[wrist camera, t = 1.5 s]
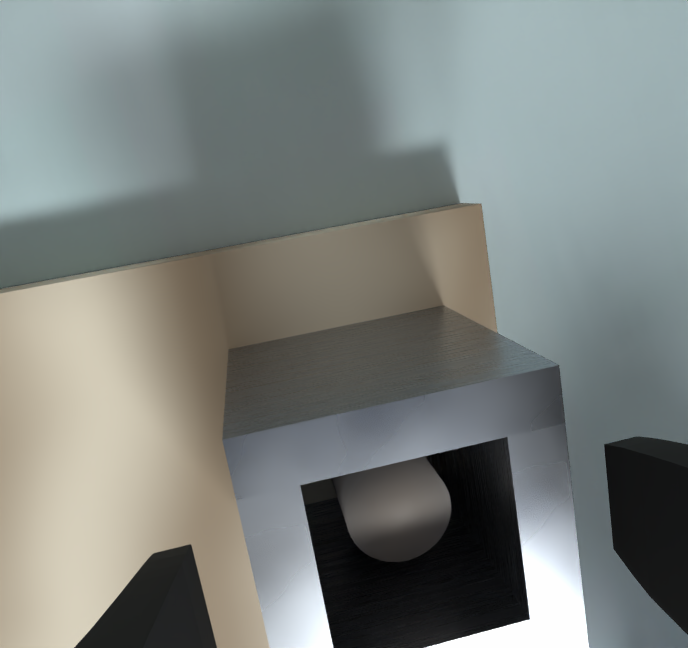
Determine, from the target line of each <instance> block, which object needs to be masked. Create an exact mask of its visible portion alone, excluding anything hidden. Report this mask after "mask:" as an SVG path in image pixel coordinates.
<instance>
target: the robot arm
mask: <svg viewBox="0 0 688 648" xmlns="http://www.w3.org/2000/svg"><path fill="white" fill-rule="evenodd" d="M604 447H605V458H606V469H607V480H608V492H609V503H610V514H611V525H612V536H613V547H614V550H615V551H616V553H617V554H618V555H619V557H620V558H621V559H622V561H623V562H624V564H625V565H626V566H627V568H628V569H629V570H630V572H631V573H632V574H633V576H634V577H635V578H636V579H637V581H638V582H639V583H640V584H641V586H642V587H643V588H644V589H645V591H646V592H647V593H648V595H649V596H650V597H651V598H652V599H653V600H654V601H655V602H656V603H657V604H658V605H659V606H660V607H661V608H662V609H663V610H664V611H665V612H666V613H667V614H668V615H669V616H670V617H671V618H672V619H673V620H674V621H675V622H676V623H677V624H678V625H679V626H680V627H681V628H682V629H683V630H684V631H685V632H686V633H687V634H688V445H687V444H682V443H677V442H672V441H667V440H661V439H654V438H646V437H633V438H629V439H625V440H621V441H616V442H612V443H608V444H604ZM74 648H217V645H216V641H215V637H214V633H213V629H212V625H211V621H210V617H209V613H208V609H207V605H206V601H205V597H204V593H203V589H202V585H201V581H200V577H199V573H198V569H197V565H196V561H195V557H194V553H193V549H192V545H191V544H189V545H185V546H181V547H177V548H173V549H169V550H164V551H160V552H156V553H153V554H152V555H151V556H150V557H149V558H148V559H147V561H146V562H145V563H144V564H143V565H142V567H141V568H140V569H139V570H138V572H137V573H136V574H135V575H134V577H133V578H132V579H131V580H130V582H129V583H128V584H127V585H126V587H125V588H124V589H123V590H122V592H121V593H120V594H119V596H118V597H117V598H116V599H115V600H114V602H113V603H112V604H111V605H110V606H109V608H108V609H107V610H106V611H105V613H104V614H103V615H102V616H101V617H100V619H99V620H98V621H97V622H96V623H95V625H94V626H93V627H92V628H91V629H90V631H89V632H88V633H87V634H86V635H85V636H84V637H83V638H82V639H81V641H80V642H79V643H78V644H77V645H76V646H75V647H74Z"/></svg>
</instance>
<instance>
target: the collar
mask: <svg viewBox="0 0 688 648" xmlns="http://www.w3.org/2000/svg"><path fill="white" fill-rule="evenodd" d="M222 441H223V445H224V450H225V454H226V459H227V463H228V467H229V472H230V476H231V480H232V485H233V489H234V494H235V498H236V502H237V507H238V511H239V515H240V520H241V524H242V529H243V533H244V537H245V542H246V546H247V551H248V555H249V559H250V564H251V568H252V572H253V577H254V581H255V586H256V590H257V594H258V599H259V603H260V607H261V612H262V616H263V621H264V625H265V629H266V634H267V638H268V642H269V647H270V648H589V645H588V636H587V626H586V617H585V607H584V598H583V588H582V579H581V569H580V560H579V550H578V541H577V531H576V522H575V512H574V503H573V493H572V484H571V474H570V465H569V455H568V446H567V436H566V427H565V417H564V407H563V398H562V388H561V379H560V369H559V365H558V364H556V363H554V362H552V361H550V360H548V359H546V358H544V357H542V356H540V355H539V354H537V353H535V352H533V351H531V350H529V349H527V348H525V347H523V346H521V345H519V344H517V343H515V342H513V341H512V340H510V339H508V338H506V337H504V336H502V335H500V334H498V333H496V332H494V331H492V330H490V329H488V328H486V327H484V326H483V325H481V324H479V323H477V322H475V321H473V320H471V319H469V318H467V317H465V316H463V315H461V314H459V313H457V312H456V311H454V310H452V309H450V308H448V307H446V306H444V305H442V306H438V307H433V308H428V309H423V310H418V311H413V312H408V313H403V314H399V315H394V316H389V317H384V318H379V319H374V320H369V321H364V322H360V323H355V324H350V325H345V326H340V327H335V328H330V329H325V330H321V331H316V332H311V333H306V334H301V335H296V336H291V337H286V338H282V339H277V340H272V341H267V342H262V343H257V344H252V345H247V346H243V347H238V348H233V349H228V363H227V377H226V392H225V407H224V421H223V436H222ZM423 456H427V457H428V461H429V463H430V464H431V466H432V467H433V468H434V470H435V471H436V472H437V474H438V475H439V477H440V478H441V479H442V481H443V482H444V484H445V486H446V487H447V490H448V492H449V495H450V500H451V514H450V519H449V523H448V526H447V528H446V530H445V532H444V534H443V535H442V537H441V538H440V539H439V541H438V542H437V543H436V544H435V545H434V546H433V547H432V548H431V549H429V550H428V551H427V552H425V553H423V554H422V555H420V556H418V557H416V558H413V559H410V560H406V561H401V562H386V561H381V560H378V559H375V558H373V557H370V556H368V555H367V554H365V553H364V552H363V551H362V550H360V549H359V548H358V547H357V545H356V544H355V543H354V541H353V540H352V538H351V536H350V534H349V531H348V528H347V525H346V522H345V519H344V516H343V513H342V510H341V507H340V504H339V501H338V498H337V497H336V498H332V499H328V500H324V501H320V502H315V503H311V504H307V505H304V501H303V497H302V492H301V487H300V485H304V484H308V483H312V482H316V481H321V480H325V479H329V478H333V477H338V476H342V475H346V474H351V473H355V472H359V471H363V470H368V469H372V468H376V467H381V466H385V465H389V464H393V463H398V462H402V461H406V460H411V459H415V458H419V457H423Z"/></svg>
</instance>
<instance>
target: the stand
mask: <svg viewBox="0 0 688 648" xmlns="http://www.w3.org/2000/svg"><path fill="white" fill-rule="evenodd" d="M442 305H444V306H446V307H448V308H450V309H452V310H454V311H456V312H457V313H459V314H461V315H463V316H465V317H467V318H469V319H471V320H473V321H475V322H477V323H479V324H481V325H483V326H484V327H486V328H488V329H490V330H492V331H494V332H496V333H497V325H496V317H495V309H494V301H493V293H492V285H491V277H490V269H489V261H488V253H487V245H486V237H485V229H484V221H483V213H482V205H481V204H469V203H460V204H455V205H449V206H444V207H439V208H433V209H428V210H422V211H417V212H412V213H406V214H401V215H396V216H390V217H385V218H379V219H374V220H369V221H363V222H358V223H352V224H347V225H342V226H336V227H331V228H326V229H320V230H315V231H309V232H304V233H299V234H293V235H288V236H283V237H277V238H272V239H266V240H261V241H256V242H250V243H245V244H240V245H234V246H229V247H223V248H218V249H213V250H207V251H202V252H197V253H191V254H186V255H180V256H175V257H170V258H164V259H159V260H153V261H148V262H143V263H137V264H132V265H127V266H121V267H116V268H110V269H105V270H100V271H94V272H89V273H84V274H78V275H73V276H67V277H62V278H57V279H51V280H46V281H41V282H35V283H30V284H24V285H19V286H14V287H8V288H3V289H0V648H74V647H75V646H76V645H77V644H78V643H79V642H80V641H81V639H82V638H83V637H84V636H85V635H86V634H87V633H88V632H89V631H90V629H91V628H92V627H93V626H94V625H95V623H96V622H97V621H98V620H99V619H100V617H101V616H102V615H103V614H104V613H105V611H106V610H107V609H108V608H109V606H110V605H111V604H112V603H113V602H114V600H115V599H116V598H117V597H118V596H119V594H120V593H121V592H122V590H123V589H124V588H125V587H126V585H127V584H128V583H129V582H130V580H131V579H132V578H133V577H134V575H135V574H136V573H137V572H138V570H139V569H140V568H141V567H142V565H143V564H144V563H145V562H146V561H147V559H148V558H149V557H150V556H151V555H152V554H153V553H156V552H160V551H164V550H169V549H173V548H177V547H181V546H185V545H189V544H191V545H192V549H193V553H194V557H195V561H196V565H197V569H198V573H199V577H200V581H201V585H202V589H203V593H204V597H205V601H206V605H207V609H208V613H209V617H210V621H211V625H212V629H213V633H214V637H215V641H216V645H217V648H270V647H269V642H268V638H267V634H266V629H265V625H264V621H263V616H262V612H261V607H260V603H259V599H258V594H257V590H256V586H255V581H254V577H253V572H252V568H251V564H250V559H249V555H248V551H247V546H246V542H245V537H244V533H243V529H242V524H241V520H240V515H239V511H238V507H237V502H236V498H235V494H234V489H233V485H232V480H231V476H230V472H229V467H228V463H227V459H226V454H225V450H224V445H223V441H222V436H223V421H224V407H225V392H226V377H227V363H228V349H233V348H238V347H243V346H247V345H252V344H257V343H262V342H267V341H272V340H277V339H282V338H286V337H291V336H296V335H301V334H306V333H311V332H316V331H321V330H325V329H330V328H335V327H340V326H345V325H350V324H355V323H360V322H364V321H369V320H374V319H379V318H384V317H389V316H394V315H399V314H403V313H408V312H413V311H418V310H423V309H428V308H433V307H438V306H442ZM300 487H301V492H302V497H303V501H304V505H307V504H311V503H315V502H320V501H324V500H328V499H332V498H336V497H337V498H338V501H339V504H340V507H341V510H342V513H343V516H344V519H345V522H346V525H347V528H348V531H349V534H350V536H351V538H352V540H353V541H354V543H355V544H356V545H357V547H358V548H359V549H360V550H362V551H363V552H364V553H365V554H367V555H368V556H370V557H373V558H375V559H378V560H381V561H386V562H401V561H406V560H410V559H413V558H416V557H418V556H420V555H422V554H423V553H425V552H427V551H428V550H429V549H431V548H432V547H433V546H434V545H435V544H436V543H437V542H438V541H439V539H440V538H441V537H442V535H443V534H444V532H445V530H446V528H447V526H448V523H449V519H450V514H451V500H450V495H449V492H448V490H447V487H446V486H445V484H444V482H443V481H442V479H441V478H440V477H439V475H438V474H437V472H436V471H435V470H434V468H433V467H432V466H431V464H430V463H429V461H428V457H427V456H423V457H419V458H415V459H411V460H406V461H402V462H398V463H393V464H389V465H385V466H381V467H376V468H372V469H368V470H363V471H359V472H355V473H351V474H346V475H342V476H338V477H333V478H329V479H325V480H321V481H316V482H312V483H308V484H304V485H300Z"/></svg>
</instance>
